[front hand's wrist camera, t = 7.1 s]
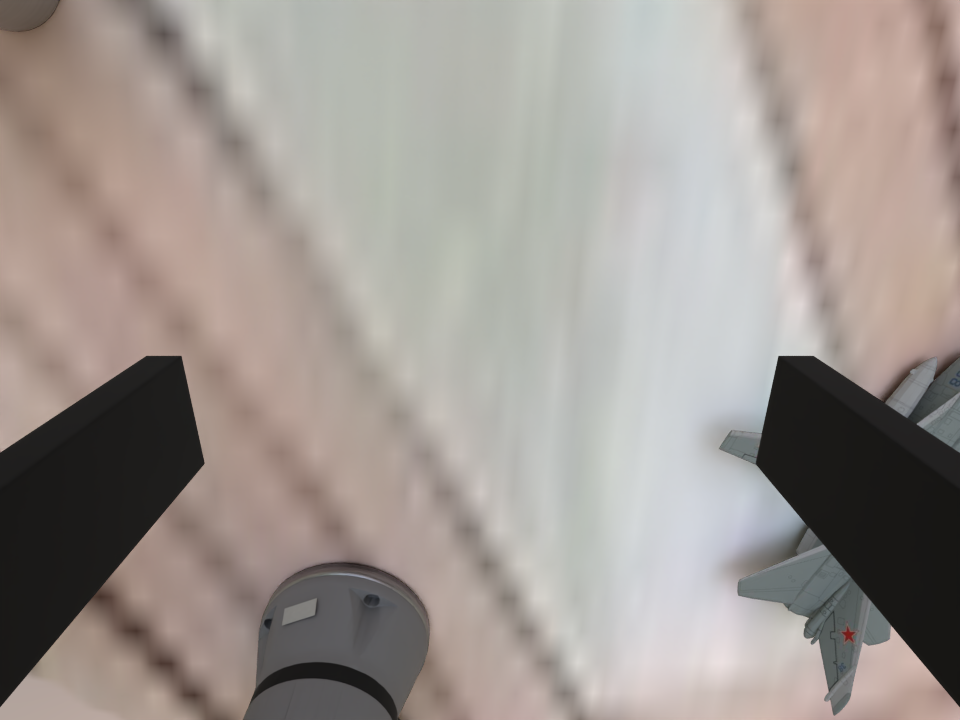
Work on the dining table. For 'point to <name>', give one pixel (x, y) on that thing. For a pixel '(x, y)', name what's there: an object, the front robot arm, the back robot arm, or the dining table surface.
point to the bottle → (25, 13)
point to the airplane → (815, 572)
